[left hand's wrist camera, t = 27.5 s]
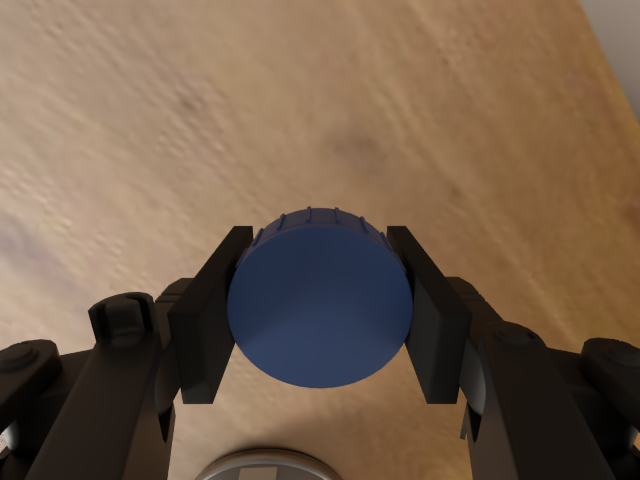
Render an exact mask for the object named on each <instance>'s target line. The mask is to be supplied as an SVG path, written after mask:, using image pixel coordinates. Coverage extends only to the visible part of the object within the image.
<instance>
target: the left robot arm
mask: <svg viewBox="0 0 640 480" xmlns="http://www.w3.org/2000/svg"><path fill="white" fill-rule="evenodd" d="M386 238H387V240H388V242H389V244H390V246H391V247H392V249H393V252H394V253H395V252H396V253H397V255H398V257H399V258H400V260H401V262H402V264H403V266H404V267H405V269H406V271H407V273H406V274H405V275H406V277H407V279H408V281H409V284H410V288H411V291H412V297H413V315H412V323H411V327H410V330H409V333H408V335H407V337H406V339H405V341H404V343H405V345H406V348H407V351H408V353H409V356H410V359H411V361H412V364H413V367H414V370H415V372H416V375H417V378H418V380H419V383H420V386H421V388H422V391H423V394H424V396H425V399H426V402H427V404H456V403H457V398H458V392H459V387H461V389H462V391H463V393H464V395H465V397H466V399H467V404H466V409H465V414H464V419H463V424H462V429H461V435H460V439H464V440H465V436H466V432H467V439H468V446H469V454H470V461H471V469H472V476H473V480H640V451H639V450H638V449H637V448H636V446H635V445H634V444H633V443H634V441H635V439H636V436H637V434H638V432H640V349H639V348H636V347H634V346H632V345H630V344H629V343H626V342H623V341H621V342H620V341H619V340H615V339H606V338H591V339H588V340H587V341H586V342H584V345H583V348H582V351H581V354H578V353H573V352H568V351H562V350H557V349H552V348H548V347H546V345H545V343H544V341H543V340H542V339H541V338H540V337H539V336H538V335H537V334H536V333H534V332H533V331H531V330H530V329H528V328H526V327H523V326H521V325H519V324H516V323H511V322H507V321H504V320H503V319H502V318H501V317H500V316H499V315H498V314H497V313H496V311H495V310H494V309H493V308H492V307H491V306H490V305H489V304H488V302H487V301H485V299H484V298H483V297H482V296H481V295H480V294H479V292H478V291H477V290H476V289H475V288H474V287H473V286H472V285H471V284H470V283H468V282H467V281H465V280H463V279H461V278H460V277H445V276H444V275H443V274H442V273H441V271H440V270H439V269H438V267H437V266H436V265H435V264H434V262H433V261H432V260H431V258H430V257H429V256H428V254H427V253H426V252H425V251H424V249H423V248H422V247H421V245H420V244H419V243H418V241H417V240H416V239H415V238H414V236H413V235H412V234H411V232H410V231H409V230H408V229H407V227H406V226H387V237H386ZM252 242H253V226H234V227H233V228H232V230H231V231H230V232H229V233H228V235H227V236H226V237H225V239H224V240H223V241H222V242H221V244H220V245H219V246H218V248H217V249H216V250H215V252H214V253H213V254H212V255H211V257H210V258H209V259H208V261H207V262H206V263H205V265H204V266H203V267H202V268H201V270H200V271H199V272H198V274H197V275H196V276H195V277H194V278H181V279H179V280H177V281H175V282H174V283H172V284H170V285H169V286H168V287H167V288H166V289H165V290H164V291H163V292H162V294H161V296H159V297H158V298H157V299H156V300H155V303H154V301H153V297H152V296H150V295H149V294H147V293H142V292H128V293H123V294H118V295H114V296H111V297H109V298H106V299H103V300H102V301H100V302H98V303H96V304H94V305H93V306H92V307H91V308H90V309H89V310H88V313H89V317H90V321H91V324H92V328H93V331H94V335H95V339H96V344H95V346H94V348H93V349H90V350H86V351H81V352H75V353H70V354H65V355H59V352H58V349H57V346H56V344H55V343H54V342H52V341H51V340H43V339H39V340H31V341H24V342H21V343H17V344H13V345H11V346H9V347H8V348H6V349H3V350H1V351H0V435H1V434H2V435H3V437H4V440H5V442H6V444H7V446H6V447H5V448H4V449H3V451H2V452H1V453H0V480H167V477H168V470H169V462H170V455H171V447H172V439H173V432H174V424H175V417H176V416H175V409H174V404H173V400H174V398H175V396H176V394H177V392H178V390H179V389H180V388H181V394H182V399H183V404H213V401H214V399H215V396H216V393H217V390H218V388H219V385H220V382H221V380H222V377H223V374H224V372H225V369H226V366H227V364H228V361H229V358H230V356H231V353H232V350H233V347H234V345H235V340H234V338H233V336H232V333H231V330H230V327H229V323H228V317H227V295H228V291H229V287H230V284H231V281H232V279H233V276H234V274H235V272H236V270H237V268H235V266H236V265H237V263H238V261H239V259H240V257H241V256H242V254H243V252H244V250H245V249H246V247H247V248H249V247H250V245H251V243H252ZM195 480H342V479H341V478H340V477H339V476H338V475H337V474H336V473H335V472H334V471H333V470H332V469H330V468H329V467H328V466H326V465H325V464H323V463H321V462H320V461H318V460H316V459H314V458H312V457H309V456H306V455H304V454H300V453H297V452H292V451H288V450H280V449H253V450H247V451H242V452H238V453H234V454H231V455H228V456H226V457H223V458H221V459H219V460H217V461H215V462H214V463H212V464H211V465H209V466H208V467H207V468H205V469H204V470H203V471H202V472H201V473H200V474H199V475H198V477H197V478H196V479H195Z"/></svg>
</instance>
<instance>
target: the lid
mask: <svg viewBox="0 0 640 480" xmlns="http://www.w3.org/2000/svg"><path fill="white" fill-rule="evenodd" d="M235 268H237V270H236V272H235V274H234V276H233V279H232V281H231V284H230V287H229V291H228V295H227V317H228V323H229V327H230V330H231V333H232V336H233V338H234V340H235V342H236V343H237V345H238V347H239V348H240V350H241V351H242V352H243V354H244V355H245V356H246V357H247V358H248V359H249V360H250V361H251V362H252V363H253V364H254V365H255V366H256V367H258V368H259V369H260V370H262V371H263V372H265V373H266V374H268V375H270V376H272V377H274V378H276V379H278V380H280V381H283V382H286V383H288V384H292V385H296V386H301V387H308V388H333V387H339V386H344V385H348V384H351V383H355V382H357V381H360V380H362V379H364V378H366V377H368V376H370V375H372V374H374V373H375V372H377V371H378V370H380V369H381V368H382V367H384V366H385V365H386V364H387V363H388V362H389V361H390V360H391V359H392V358H393V357H394V356H395V355H396V354H397V352H398V351H399V349H400V348H401V346H402V345H403V343H404V341H405V339H406V337H407V335H408V333H409V330H410V327H411V323H412V315H413V297H412V291H411V288H410V284H409V281H408V279H407V277H406V275H405V274H406V273H407V271H406V269H405V267H404V266H403V264H402V262H401V260H400V258H399V257H398V255H397V253H396V252H395V253H394V252H393V249H392V247H391V246H390V244H389V242H388V240H387V238H386V236H385V234H384V233H383V232H381V233H380V232H379V231H378V230H377V229H375V228H374V227H373V226H372V225H371V224H369V223H368V222H366V221H365V219H364V217H362V216H361V217H360V218H359V217H357V216H355V215H353V214H350V213H347V212H344V211H341V210H339V208H337V207H335V209H329V208H312V209H311V206H310V207H307V209H304V210H300V211H296V212H293V213H290V214H287V215H285V214H281V217H280V218H279V219H277V220H275V221H274V222H272V223H271V224H269V225H268V226H267V227H266V228H264V229H263V228H261V229H260V230H259V232H258V234H257V236H256V238H255V239H254V240H253V242H252V243H251V245H250V247H249V248H247V247H246V249H245V250H244V252H243V254H242V256H241V257H240V259H239V261H238V263H237V265H236V266H235Z"/></svg>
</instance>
